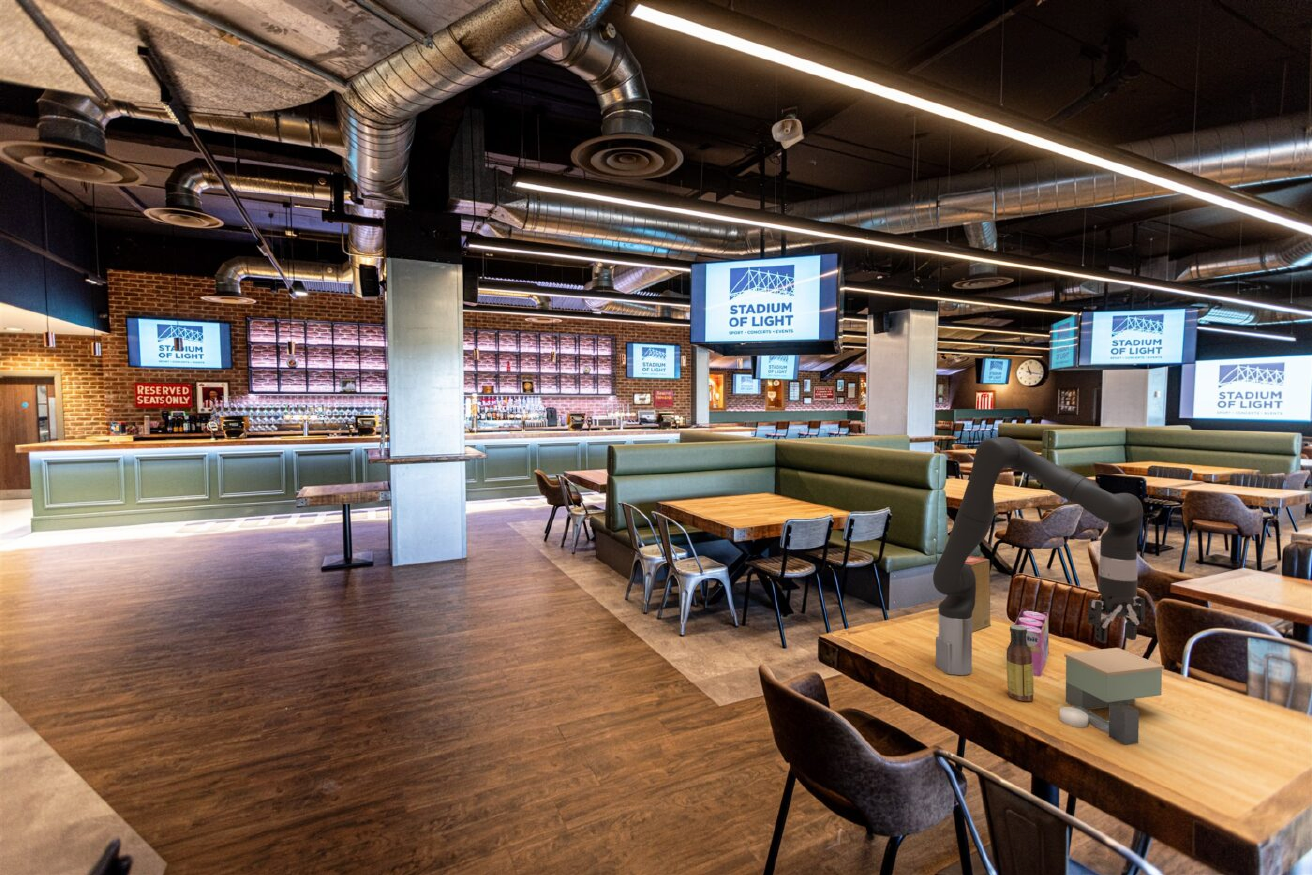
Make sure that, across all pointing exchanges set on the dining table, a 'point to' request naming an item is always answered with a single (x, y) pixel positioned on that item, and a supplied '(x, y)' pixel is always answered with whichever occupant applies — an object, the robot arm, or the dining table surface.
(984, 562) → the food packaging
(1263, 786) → the dining table surface
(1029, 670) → the sauce bottle
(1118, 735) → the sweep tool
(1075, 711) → the puck
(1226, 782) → the dining table surface
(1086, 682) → the cabinet
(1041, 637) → the gum box
